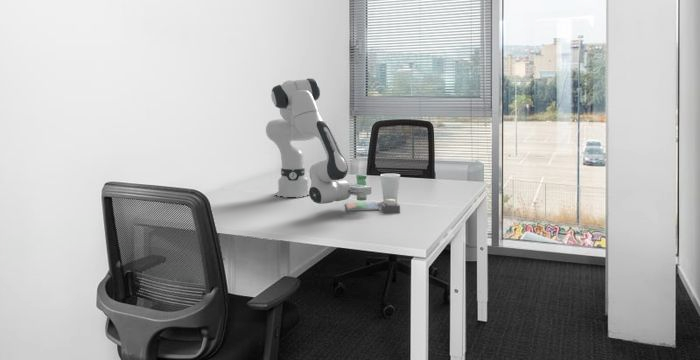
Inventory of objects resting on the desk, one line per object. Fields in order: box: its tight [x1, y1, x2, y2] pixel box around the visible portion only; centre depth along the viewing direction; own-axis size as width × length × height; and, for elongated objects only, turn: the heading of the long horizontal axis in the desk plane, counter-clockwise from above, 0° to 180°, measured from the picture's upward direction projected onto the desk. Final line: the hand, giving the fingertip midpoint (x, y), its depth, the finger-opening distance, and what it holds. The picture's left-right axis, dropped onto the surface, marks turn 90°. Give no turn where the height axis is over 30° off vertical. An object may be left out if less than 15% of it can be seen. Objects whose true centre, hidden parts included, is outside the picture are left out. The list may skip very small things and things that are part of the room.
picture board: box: [344, 202, 381, 212], centre depth 247 cm, size 15×14×1 cm
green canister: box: [355, 174, 368, 202], centre depth 246 cm, size 5×5×11 cm
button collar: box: [380, 202, 401, 214], centre depth 238 cm, size 7×7×3 cm
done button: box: [384, 199, 397, 206], centre depth 238 cm, size 4×4×3 cm
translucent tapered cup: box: [379, 173, 401, 203], centre depth 258 cm, size 10×9×13 cm
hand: (362, 186), depth 247 cm, fingers closed on green canister, 4 cm apart
